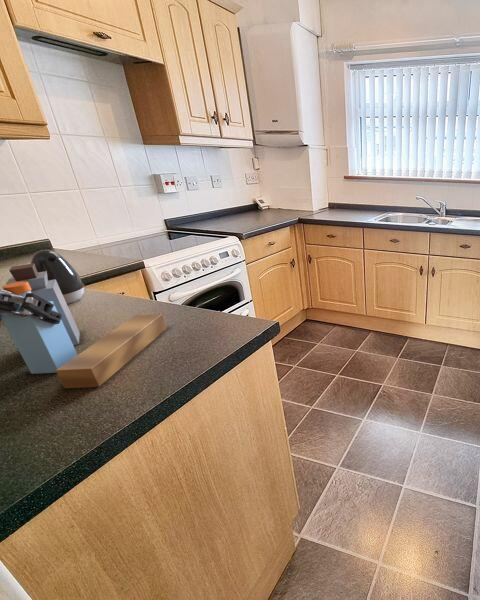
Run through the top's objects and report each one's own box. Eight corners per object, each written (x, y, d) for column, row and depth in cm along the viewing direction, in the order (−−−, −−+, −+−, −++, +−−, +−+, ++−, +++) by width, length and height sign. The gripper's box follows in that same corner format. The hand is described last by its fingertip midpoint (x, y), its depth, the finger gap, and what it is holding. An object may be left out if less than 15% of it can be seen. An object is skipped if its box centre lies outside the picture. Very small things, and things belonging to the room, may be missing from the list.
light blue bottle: (79, 358, 70) (59, 372, 65) (53, 359, 69) (31, 373, 65) (42, 279, 63) (17, 289, 58) (13, 280, 62) (-15, 290, 58)
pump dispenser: (52, 311, 90) (27, 257, 84) (34, 305, 94) (8, 252, 88) (97, 298, 99) (76, 247, 93) (78, 292, 103) (57, 243, 97)
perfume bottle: (40, 342, 76) (0, 266, 68) (79, 332, 80) (46, 259, 72) (36, 355, 71) (-6, 274, 64) (78, 344, 75) (43, 267, 68)
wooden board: (99, 386, 61) (91, 368, 59) (64, 388, 61) (54, 370, 59) (166, 328, 81) (161, 313, 80) (140, 329, 81) (135, 314, 79)
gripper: (-132, 310, 48) (-3, 340, 63) (-23, 306, 48) (77, 337, 64) (-106, 263, 50) (11, 303, 66) (-3, 260, 51) (88, 300, 67)
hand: (43, 319), depth 65 cm, fingers closed on light blue bottle, 5 cm apart
